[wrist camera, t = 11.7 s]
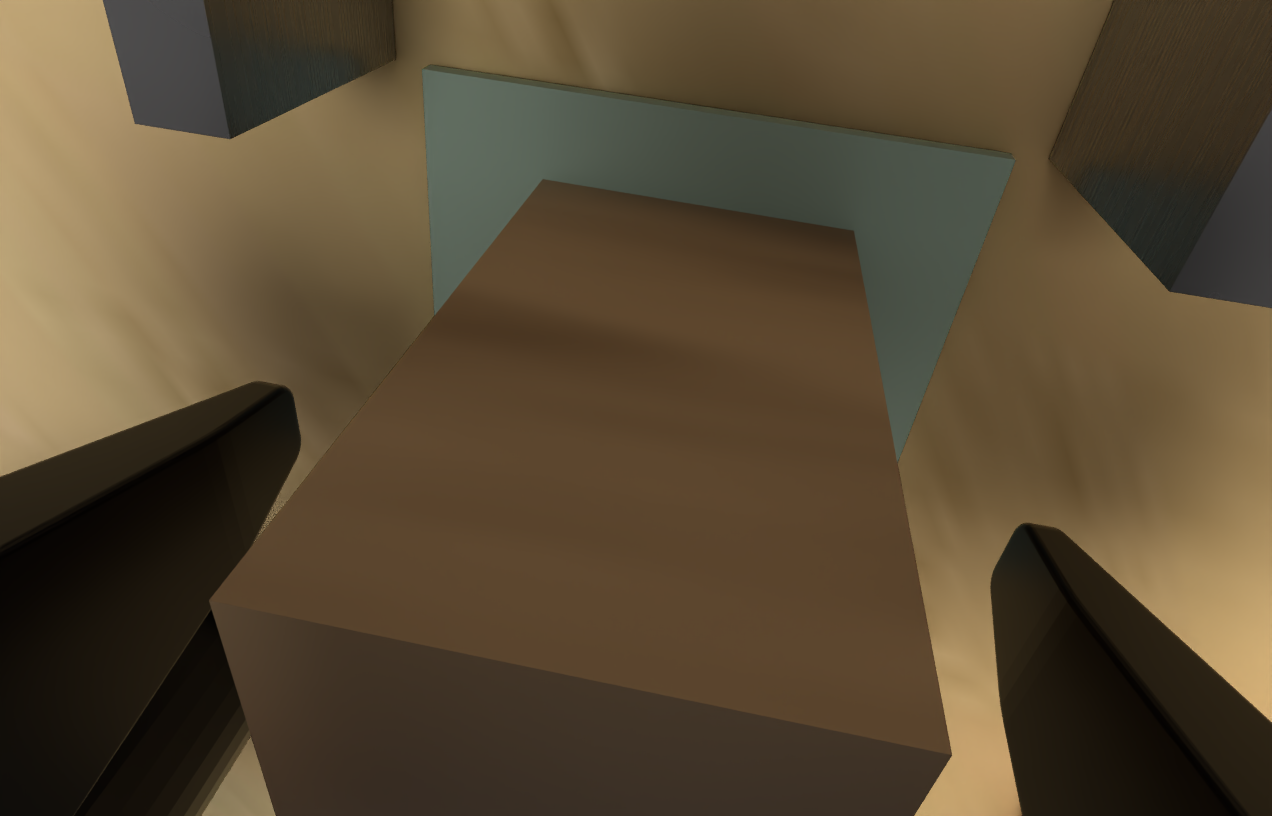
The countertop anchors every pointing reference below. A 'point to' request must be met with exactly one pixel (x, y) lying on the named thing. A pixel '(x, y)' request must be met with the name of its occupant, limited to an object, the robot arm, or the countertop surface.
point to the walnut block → (604, 544)
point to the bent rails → (1084, 153)
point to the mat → (722, 192)
